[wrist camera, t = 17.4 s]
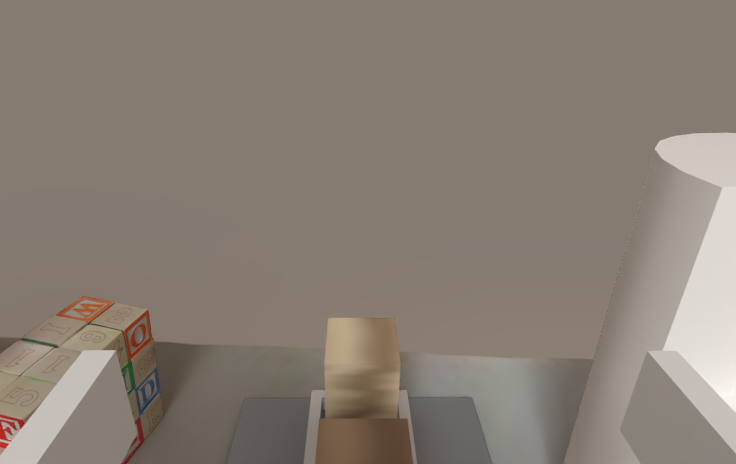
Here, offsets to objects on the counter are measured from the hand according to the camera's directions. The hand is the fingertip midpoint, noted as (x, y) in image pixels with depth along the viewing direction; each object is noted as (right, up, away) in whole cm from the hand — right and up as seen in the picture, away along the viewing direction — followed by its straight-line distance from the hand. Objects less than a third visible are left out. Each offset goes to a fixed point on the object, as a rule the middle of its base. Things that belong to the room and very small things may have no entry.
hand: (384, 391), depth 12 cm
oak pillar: (-1, -14, +29) cm, 32 cm away
